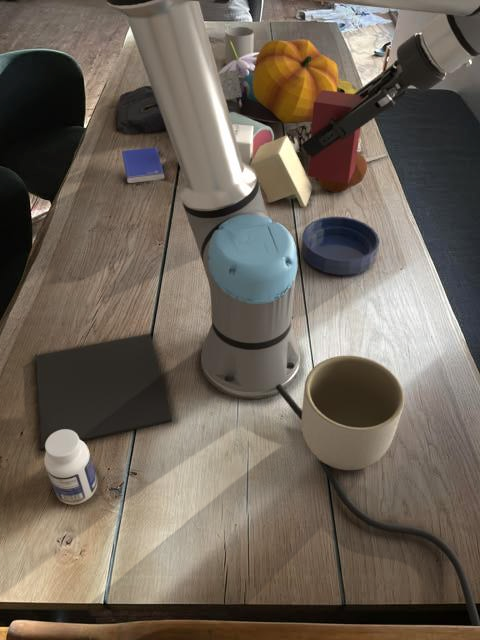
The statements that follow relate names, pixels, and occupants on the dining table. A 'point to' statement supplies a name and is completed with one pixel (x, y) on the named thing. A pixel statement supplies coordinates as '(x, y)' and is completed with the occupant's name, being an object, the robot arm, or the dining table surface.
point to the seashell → (300, 136)
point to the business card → (230, 84)
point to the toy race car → (238, 98)
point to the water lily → (240, 63)
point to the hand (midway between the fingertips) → (312, 142)
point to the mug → (254, 130)
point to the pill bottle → (70, 467)
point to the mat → (101, 389)
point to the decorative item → (345, 87)
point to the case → (342, 153)
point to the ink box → (244, 142)
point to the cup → (239, 42)
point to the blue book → (142, 165)
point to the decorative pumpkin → (292, 79)
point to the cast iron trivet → (139, 112)
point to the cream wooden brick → (281, 172)
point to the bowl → (339, 245)
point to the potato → (355, 179)
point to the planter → (350, 411)
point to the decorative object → (255, 105)
